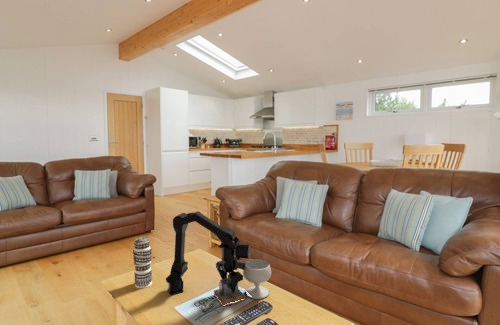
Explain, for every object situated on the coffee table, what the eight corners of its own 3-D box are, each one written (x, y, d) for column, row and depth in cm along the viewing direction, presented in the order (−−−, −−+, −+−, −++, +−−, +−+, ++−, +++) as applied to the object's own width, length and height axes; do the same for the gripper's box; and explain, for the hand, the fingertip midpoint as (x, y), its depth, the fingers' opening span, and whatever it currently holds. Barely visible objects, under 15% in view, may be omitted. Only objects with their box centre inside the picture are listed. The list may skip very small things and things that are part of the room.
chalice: (252, 283, 154) (252, 256, 153) (276, 290, 147) (276, 262, 146) (237, 295, 142) (237, 266, 141) (262, 304, 135) (262, 273, 134)
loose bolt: (205, 312, 128) (205, 307, 128) (200, 310, 130) (201, 305, 129) (213, 306, 133) (213, 300, 133) (209, 304, 135) (209, 299, 134)
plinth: (223, 306, 133) (223, 301, 133) (214, 295, 142) (214, 290, 142) (244, 300, 138) (244, 294, 138) (234, 289, 148) (234, 284, 148)
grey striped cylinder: (132, 289, 148) (130, 242, 146) (135, 280, 157) (134, 235, 155) (151, 287, 150) (149, 240, 147) (153, 279, 159) (152, 234, 157)
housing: (221, 297, 136) (221, 285, 135) (217, 292, 140) (217, 280, 139) (240, 291, 140) (240, 280, 140) (235, 287, 145) (235, 275, 144)
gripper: (253, 260, 134) (253, 292, 136) (235, 246, 151) (235, 275, 152) (231, 265, 129) (231, 298, 130) (215, 251, 145) (215, 281, 147)
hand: (229, 287), depth 140 cm, fingers open, 9 cm apart
